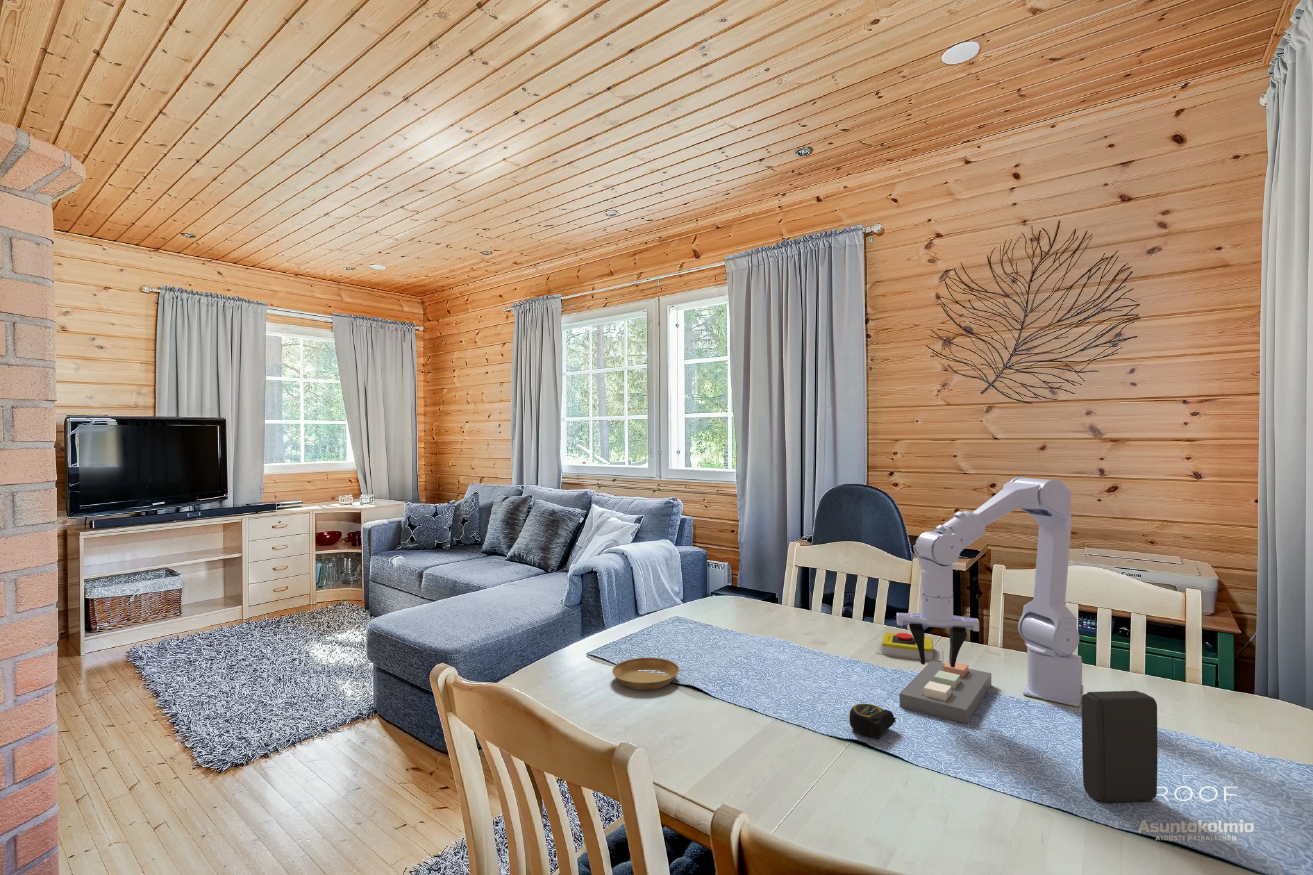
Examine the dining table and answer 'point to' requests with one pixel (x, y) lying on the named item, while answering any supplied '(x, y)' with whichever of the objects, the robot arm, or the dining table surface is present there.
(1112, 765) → the dark brown upright block
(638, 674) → the plant saucer
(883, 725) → the tape measure
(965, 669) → the terracotta button
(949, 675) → the sage button
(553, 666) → the dining table surface
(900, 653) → the emergency button
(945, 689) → the cream button
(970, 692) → the button panel
